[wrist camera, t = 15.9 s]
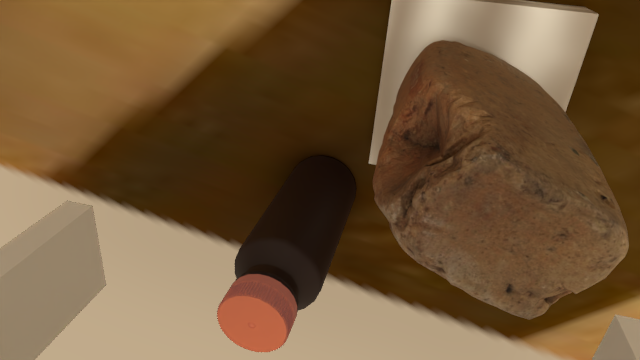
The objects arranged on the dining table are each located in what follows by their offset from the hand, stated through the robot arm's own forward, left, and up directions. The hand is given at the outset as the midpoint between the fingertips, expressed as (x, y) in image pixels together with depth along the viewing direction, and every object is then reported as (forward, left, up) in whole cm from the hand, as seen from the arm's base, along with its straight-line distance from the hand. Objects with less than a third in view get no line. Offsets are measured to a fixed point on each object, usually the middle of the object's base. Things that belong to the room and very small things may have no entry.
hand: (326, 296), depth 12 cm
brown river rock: (+5, -2, -28) cm, 28 cm away
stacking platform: (+5, -2, -32) cm, 32 cm away
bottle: (-7, -15, -32) cm, 36 cm away
